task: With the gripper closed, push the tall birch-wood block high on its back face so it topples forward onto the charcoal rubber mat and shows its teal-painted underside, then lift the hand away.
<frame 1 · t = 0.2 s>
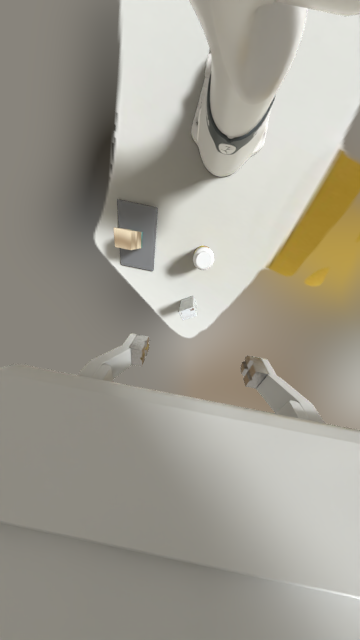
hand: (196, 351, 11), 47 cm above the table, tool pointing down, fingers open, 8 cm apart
rubber mat: (137, 239, 50), on the table
birch block: (135, 238, 49), point 1 cm above the table, touching rubber mat
skincare box: (189, 301, 60), on the table
supplement bottle: (202, 255, 50), on the table
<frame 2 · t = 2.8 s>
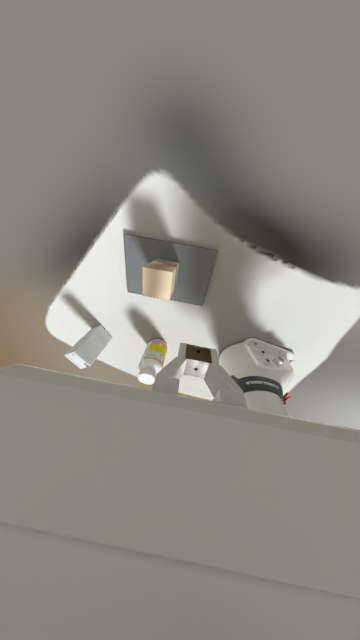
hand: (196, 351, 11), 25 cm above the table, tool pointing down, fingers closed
rubber mat: (168, 272, 33), on the table
birch block: (167, 271, 32), point 1 cm above the table, touching rubber mat
skincare box: (103, 332, 46), on the table
supplement bottle: (158, 345, 46), on the table
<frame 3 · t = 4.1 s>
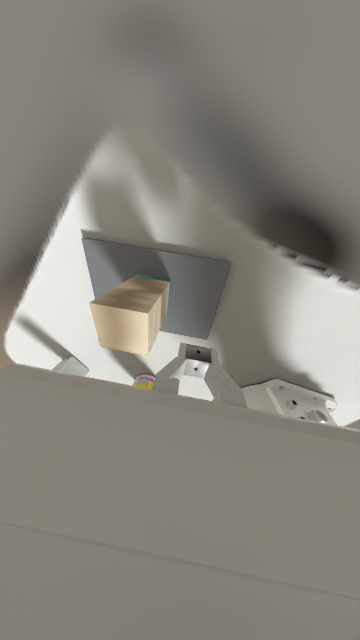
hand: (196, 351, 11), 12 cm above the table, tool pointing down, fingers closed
rubber mat: (155, 294, 22), on the table
birch block: (153, 293, 21), point 1 cm above the table, touching rubber mat
skincare box: (78, 364, 36), on the table
supplement bottle: (148, 380, 35), on the table
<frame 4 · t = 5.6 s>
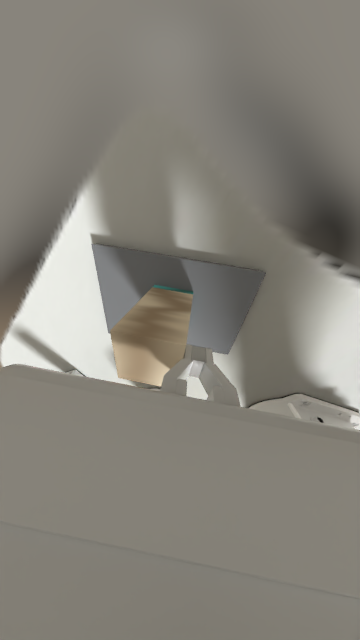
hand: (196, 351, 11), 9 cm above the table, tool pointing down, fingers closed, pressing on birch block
rubber mat: (172, 305, 20), on the table
birch block: (172, 305, 18), point 1 cm above the table, touching gripper, rubber mat
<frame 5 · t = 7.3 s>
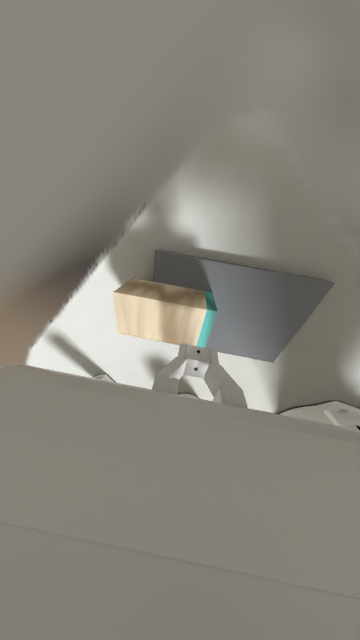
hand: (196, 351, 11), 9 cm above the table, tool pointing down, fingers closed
rubber mat: (223, 313, 19), on the table
birch block: (208, 319, 16), point 3 cm above the table, tilted 90°, touching rubber mat
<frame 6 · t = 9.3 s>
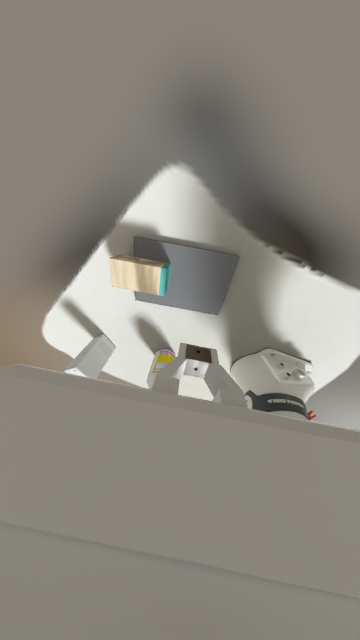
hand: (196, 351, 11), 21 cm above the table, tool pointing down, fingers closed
rubber mat: (181, 279, 30), on the table
birch block: (167, 279, 26), point 3 cm above the table, tilted 90°, touching rubber mat
skincare box: (106, 342, 42), on the table
supplement bottle: (166, 355, 43), on the table
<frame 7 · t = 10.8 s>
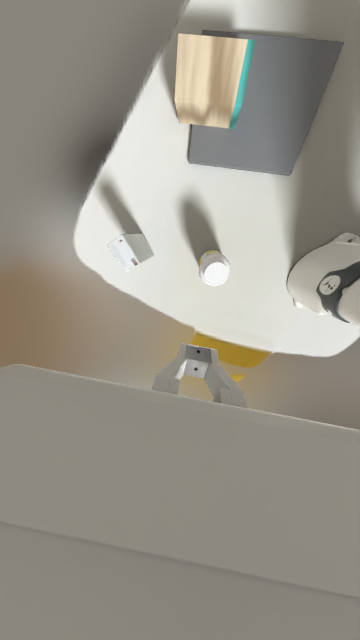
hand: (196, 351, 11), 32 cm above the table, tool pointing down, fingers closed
rubber mat: (251, 116, 24), on the table
birch block: (243, 92, 21), point 3 cm above the table, tilted 90°, touching rubber mat
skincare box: (143, 248, 37), on the table
supplement bottle: (211, 262, 37), on the table
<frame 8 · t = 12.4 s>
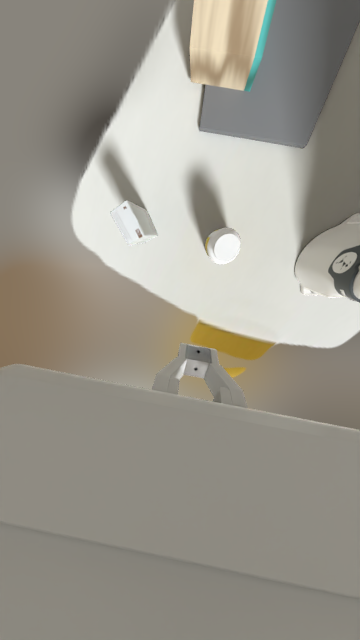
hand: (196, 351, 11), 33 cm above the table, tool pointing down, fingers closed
rubber mat: (267, 78, 22), on the table
birch block: (262, 45, 19), point 3 cm above the table, tilted 90°, touching rubber mat
skincare box: (147, 227, 35), on the table
supplement bottle: (217, 244, 36), on the table
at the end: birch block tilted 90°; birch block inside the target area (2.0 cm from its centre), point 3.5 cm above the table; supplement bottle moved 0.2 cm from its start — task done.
